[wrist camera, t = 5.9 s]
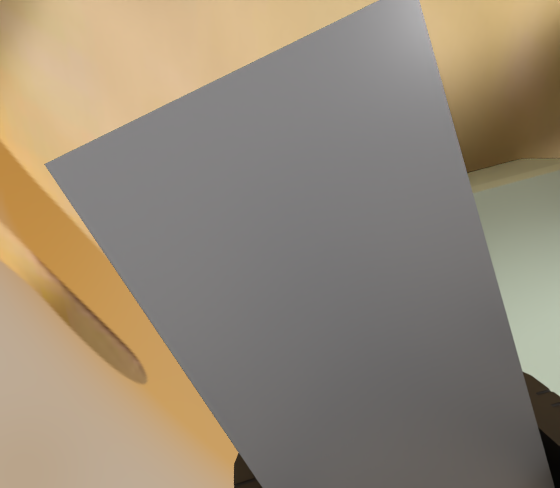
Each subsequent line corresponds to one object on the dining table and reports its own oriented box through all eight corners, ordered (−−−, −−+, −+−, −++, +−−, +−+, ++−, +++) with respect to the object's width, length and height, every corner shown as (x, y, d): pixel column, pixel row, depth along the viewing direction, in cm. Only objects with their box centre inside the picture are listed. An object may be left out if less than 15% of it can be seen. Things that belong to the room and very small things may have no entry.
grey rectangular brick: (317, 80, 9) (414, -17, 4) (480, 502, 14) (609, 686, 9) (152, 161, 9) (45, 164, 4) (376, 553, 14) (449, 764, 9)
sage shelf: (526, 154, 26) (628, 151, 19) (531, 376, 32) (609, 433, 25) (387, 190, 25) (442, 201, 18) (419, 411, 31) (469, 480, 24)
